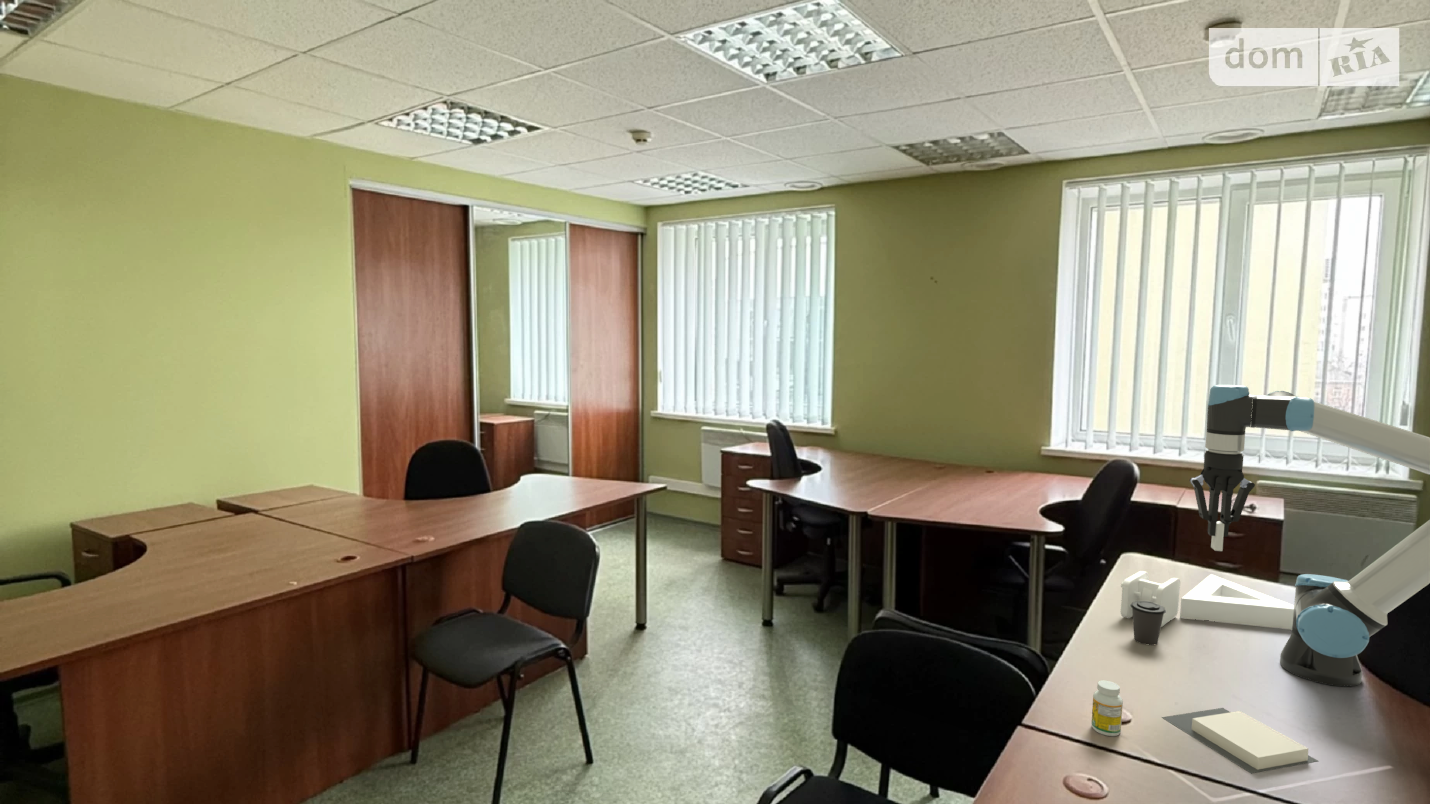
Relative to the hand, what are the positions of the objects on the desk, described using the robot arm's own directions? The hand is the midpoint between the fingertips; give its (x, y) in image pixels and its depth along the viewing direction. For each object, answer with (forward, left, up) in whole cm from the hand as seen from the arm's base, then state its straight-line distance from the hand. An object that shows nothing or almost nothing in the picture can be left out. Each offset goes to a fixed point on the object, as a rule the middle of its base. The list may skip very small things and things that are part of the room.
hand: (1216, 549), depth 175 cm
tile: (+8, +30, -28) cm, 42 cm away
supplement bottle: (+30, +37, -30) cm, 56 cm away
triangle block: (-19, -45, -30) cm, 58 cm away
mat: (+6, +34, -29) cm, 46 cm away
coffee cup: (+10, -13, -30) cm, 34 cm away
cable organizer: (+5, -30, -30) cm, 43 cm away
